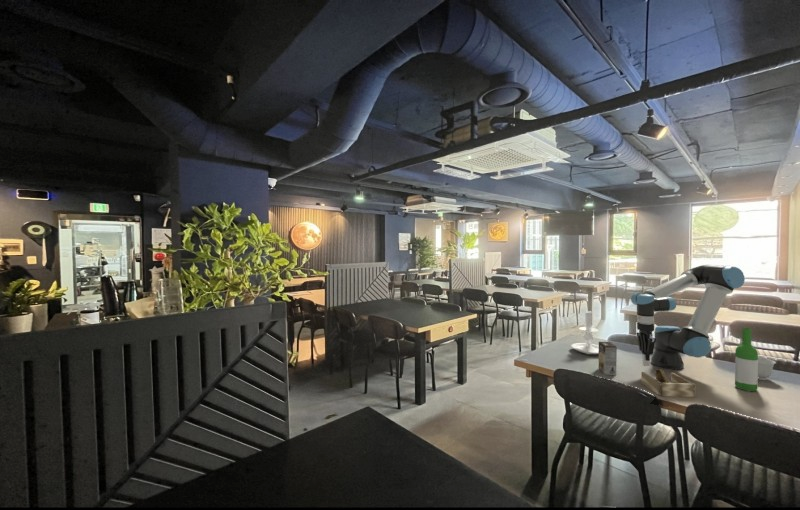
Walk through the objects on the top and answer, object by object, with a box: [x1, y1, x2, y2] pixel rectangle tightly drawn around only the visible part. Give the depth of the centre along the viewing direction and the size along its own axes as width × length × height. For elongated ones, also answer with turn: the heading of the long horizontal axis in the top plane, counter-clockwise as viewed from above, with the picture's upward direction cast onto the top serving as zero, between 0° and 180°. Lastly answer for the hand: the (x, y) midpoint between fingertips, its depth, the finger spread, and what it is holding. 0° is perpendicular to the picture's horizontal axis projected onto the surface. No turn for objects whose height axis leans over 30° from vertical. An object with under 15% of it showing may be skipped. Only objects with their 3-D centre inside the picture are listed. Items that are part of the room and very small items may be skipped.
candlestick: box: [570, 310, 599, 355], centre depth 217 cm, size 21×25×28 cm
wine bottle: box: [734, 327, 759, 392], centre depth 162 cm, size 8×8×30 cm
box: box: [640, 371, 696, 398], centre depth 162 cm, size 15×14×6 cm
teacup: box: [758, 355, 777, 381], centre depth 175 cm, size 12×15×10 cm
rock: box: [654, 368, 670, 383], centre depth 165 cm, size 11×9×10 cm
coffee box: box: [598, 341, 618, 376], centre depth 186 cm, size 9×6×16 cm
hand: (646, 365), depth 179 cm, fingers closed
